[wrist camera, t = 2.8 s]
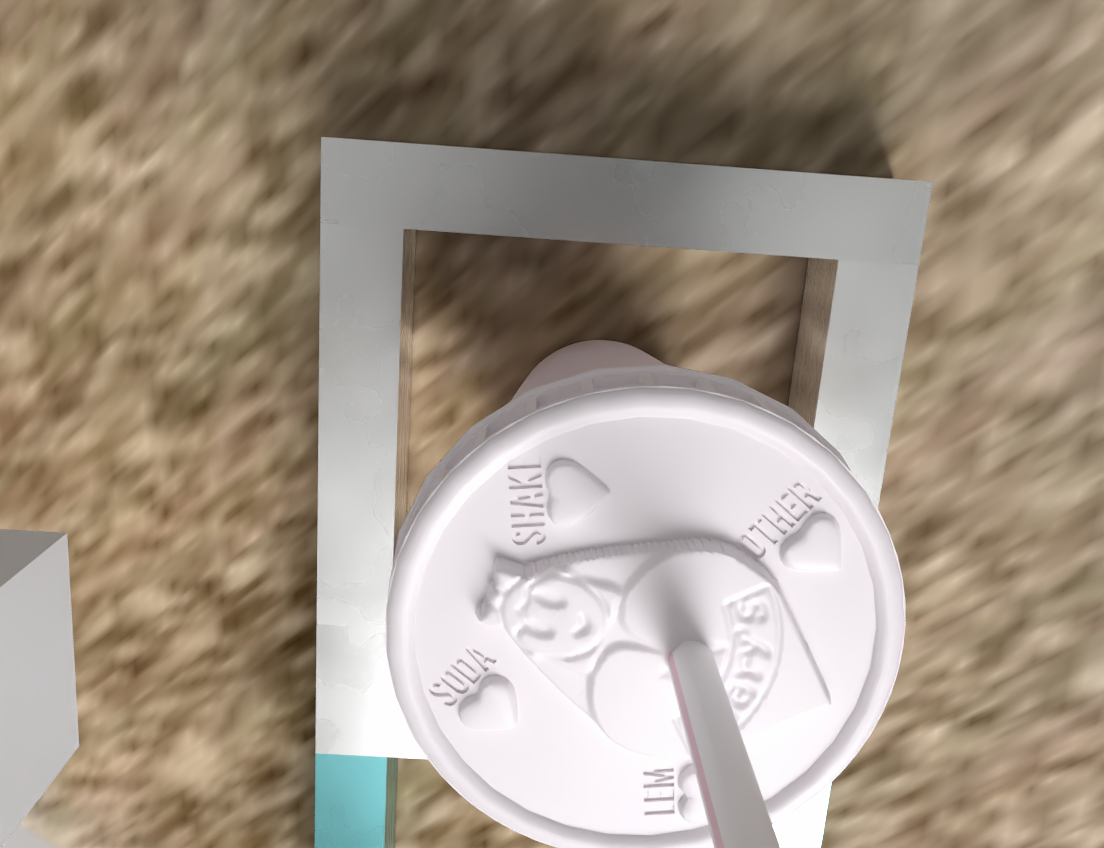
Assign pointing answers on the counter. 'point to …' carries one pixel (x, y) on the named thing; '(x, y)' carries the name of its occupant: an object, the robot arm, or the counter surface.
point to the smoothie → (642, 608)
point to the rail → (575, 215)
